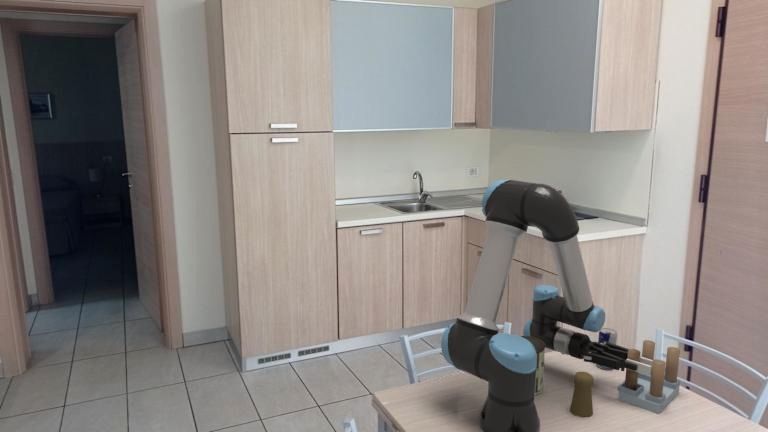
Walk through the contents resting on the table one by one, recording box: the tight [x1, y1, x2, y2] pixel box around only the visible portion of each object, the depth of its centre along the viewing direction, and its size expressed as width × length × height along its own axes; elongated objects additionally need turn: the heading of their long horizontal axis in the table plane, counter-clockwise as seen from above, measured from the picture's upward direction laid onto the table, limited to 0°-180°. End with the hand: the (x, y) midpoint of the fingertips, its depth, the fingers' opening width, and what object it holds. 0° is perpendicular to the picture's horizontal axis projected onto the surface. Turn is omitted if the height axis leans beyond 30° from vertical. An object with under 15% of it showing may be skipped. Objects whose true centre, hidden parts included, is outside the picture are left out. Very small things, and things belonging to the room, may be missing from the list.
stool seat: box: [617, 339, 681, 415], centre depth 161 cm, size 11×16×14 cm
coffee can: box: [520, 335, 546, 396], centre depth 166 cm, size 10×10×14 cm
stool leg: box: [624, 348, 642, 391], centre depth 159 cm, size 3×3×12 cm
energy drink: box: [595, 327, 618, 371], centre depth 179 cm, size 5×5×12 cm
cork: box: [569, 371, 595, 418], centre depth 153 cm, size 6×6×11 cm
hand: (653, 368), depth 154 cm, fingers closed on stool leg, 3 cm apart
